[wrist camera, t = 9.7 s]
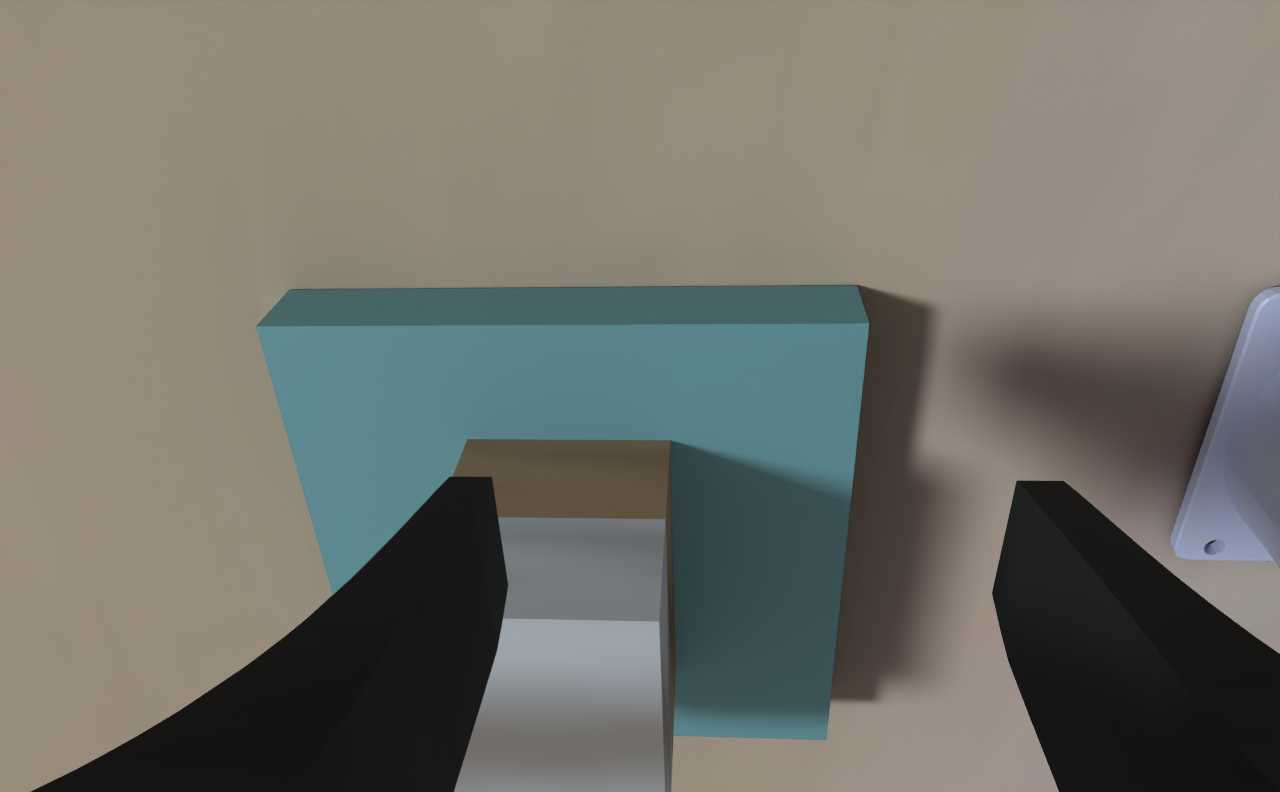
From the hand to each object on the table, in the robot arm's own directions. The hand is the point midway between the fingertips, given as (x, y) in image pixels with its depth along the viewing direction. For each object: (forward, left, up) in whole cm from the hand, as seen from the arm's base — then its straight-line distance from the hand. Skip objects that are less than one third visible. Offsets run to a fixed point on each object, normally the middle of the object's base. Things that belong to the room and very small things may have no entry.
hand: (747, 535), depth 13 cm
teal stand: (+4, +8, -10) cm, 14 cm away
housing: (+4, +8, -8) cm, 12 cm away
